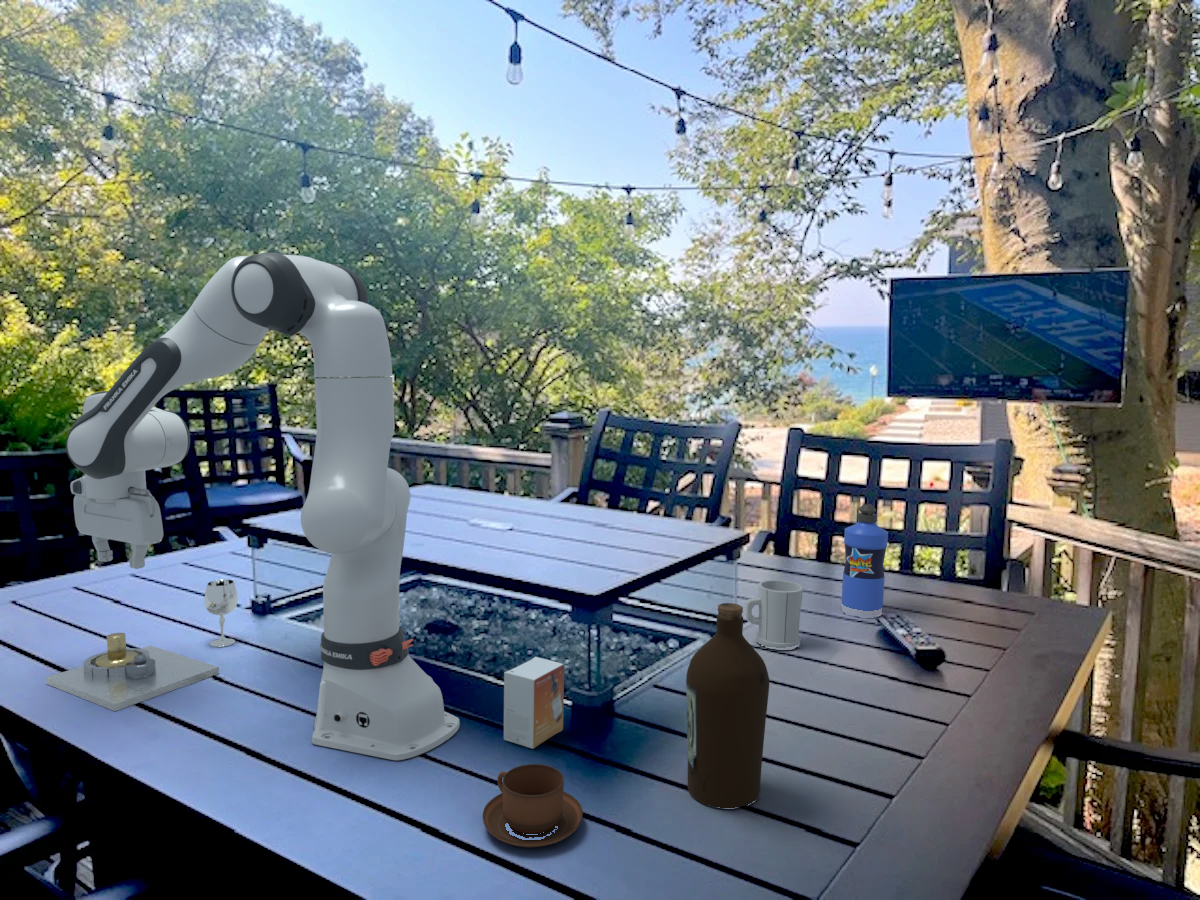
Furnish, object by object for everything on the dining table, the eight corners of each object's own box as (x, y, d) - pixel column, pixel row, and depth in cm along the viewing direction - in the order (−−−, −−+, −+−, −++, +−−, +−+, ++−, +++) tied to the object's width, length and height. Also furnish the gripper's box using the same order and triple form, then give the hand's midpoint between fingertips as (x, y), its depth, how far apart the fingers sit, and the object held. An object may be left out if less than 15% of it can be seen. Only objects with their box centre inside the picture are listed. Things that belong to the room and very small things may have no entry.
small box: (532, 750, 116) (533, 680, 114) (502, 740, 119) (502, 671, 117) (564, 729, 122) (565, 663, 121) (534, 720, 125) (535, 655, 124)
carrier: (218, 673, 141) (218, 649, 141) (114, 711, 126) (113, 684, 125) (150, 651, 151) (149, 628, 150) (46, 683, 135) (45, 658, 135)
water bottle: (848, 603, 190) (853, 499, 187) (888, 611, 185) (894, 504, 182) (834, 613, 183) (840, 504, 180) (875, 621, 177) (882, 509, 174)
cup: (777, 656, 155) (780, 596, 153) (740, 643, 161) (742, 585, 160) (809, 645, 161) (812, 586, 160) (772, 633, 168) (774, 577, 167)
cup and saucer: (463, 843, 94) (463, 793, 93) (511, 792, 105) (511, 747, 104) (558, 868, 89) (558, 816, 89) (596, 812, 100) (597, 765, 100)
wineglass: (226, 649, 153) (224, 587, 151) (199, 646, 154) (197, 585, 153) (245, 639, 158) (243, 579, 157) (219, 636, 159) (217, 577, 158)
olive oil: (763, 774, 110) (771, 597, 107) (765, 817, 100) (774, 622, 97) (685, 766, 112) (691, 592, 109) (679, 808, 101) (686, 616, 99)
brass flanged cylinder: (146, 663, 142) (145, 633, 141) (110, 676, 136) (109, 644, 136) (123, 657, 145) (122, 627, 144) (87, 669, 139) (86, 637, 138)
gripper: (171, 487, 135) (175, 568, 136) (101, 478, 145) (106, 553, 146) (133, 492, 129) (138, 576, 131) (64, 482, 139) (69, 560, 141)
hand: (121, 564), depth 139 cm, fingers open, 8 cm apart
